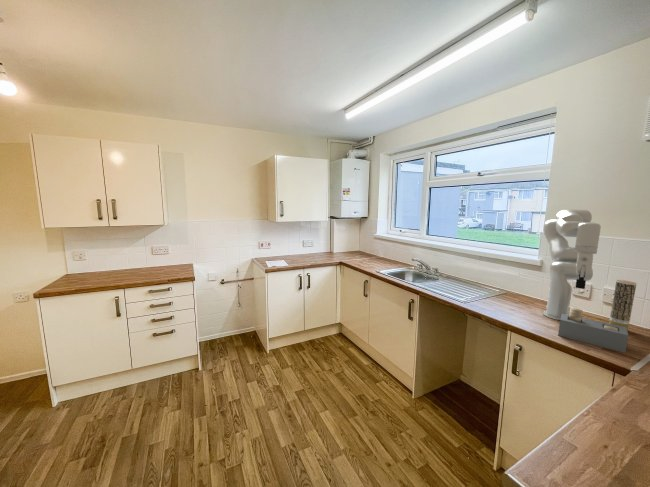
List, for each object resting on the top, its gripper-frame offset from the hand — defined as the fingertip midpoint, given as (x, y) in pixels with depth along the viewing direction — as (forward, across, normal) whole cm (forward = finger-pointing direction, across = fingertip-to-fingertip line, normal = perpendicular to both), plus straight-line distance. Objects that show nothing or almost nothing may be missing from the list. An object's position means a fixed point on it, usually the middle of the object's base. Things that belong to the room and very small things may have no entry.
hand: (580, 287), depth 128 cm
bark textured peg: (+24, +27, -16) cm, 40 cm away
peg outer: (+24, 0, -12) cm, 27 cm away
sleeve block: (+24, 0, -6) cm, 25 cm away
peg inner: (+19, 0, 0) cm, 19 cm away
